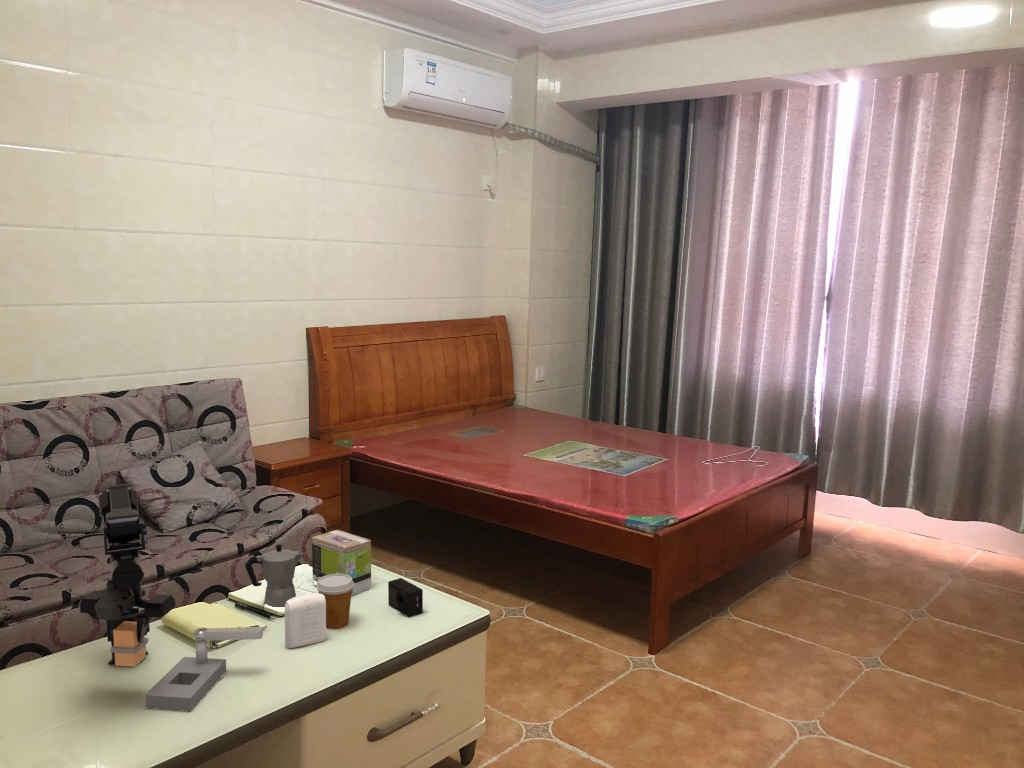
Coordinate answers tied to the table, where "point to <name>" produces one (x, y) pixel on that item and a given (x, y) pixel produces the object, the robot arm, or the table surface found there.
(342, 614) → the disposable coffee cup
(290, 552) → the coffeepot
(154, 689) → the socket block
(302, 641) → the white rounded block
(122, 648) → the plug
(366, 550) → the tea box
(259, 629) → the retention bar
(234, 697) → the table surface
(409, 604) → the digital camera
